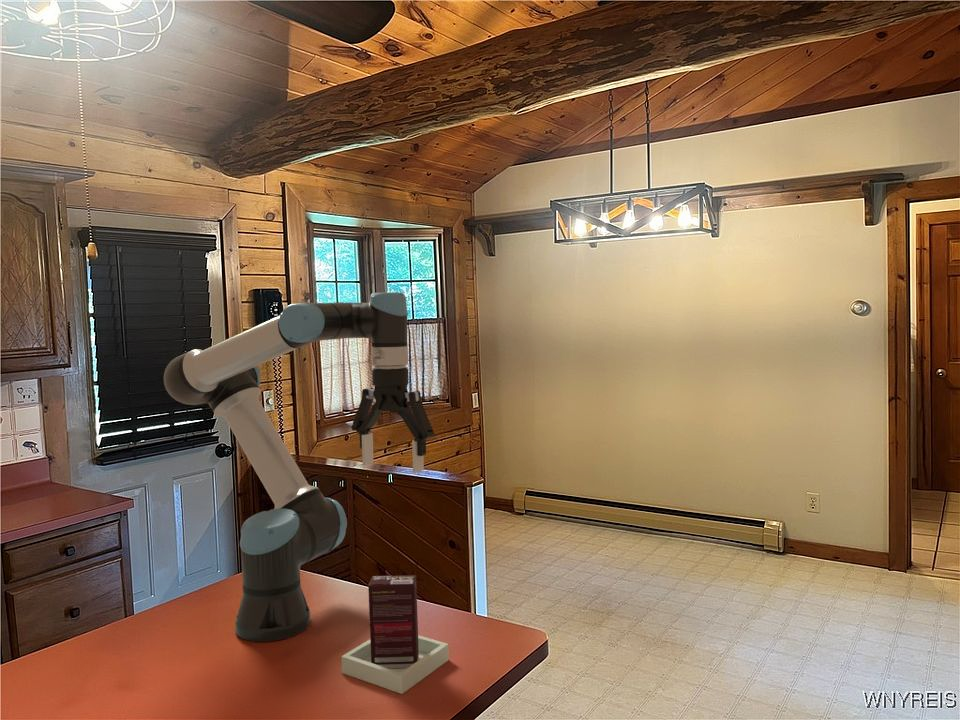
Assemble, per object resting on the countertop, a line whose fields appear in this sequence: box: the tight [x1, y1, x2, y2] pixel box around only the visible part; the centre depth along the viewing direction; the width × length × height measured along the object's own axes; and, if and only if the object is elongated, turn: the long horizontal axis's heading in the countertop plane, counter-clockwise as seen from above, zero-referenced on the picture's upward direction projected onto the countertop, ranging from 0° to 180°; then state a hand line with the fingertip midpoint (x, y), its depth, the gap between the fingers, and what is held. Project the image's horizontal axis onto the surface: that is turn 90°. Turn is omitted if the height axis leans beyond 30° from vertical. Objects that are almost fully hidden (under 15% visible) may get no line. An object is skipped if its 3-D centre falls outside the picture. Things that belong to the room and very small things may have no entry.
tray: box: [340, 634, 450, 695], centre depth 134 cm, size 14×14×3 cm
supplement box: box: [367, 574, 419, 668], centre depth 134 cm, size 9×5×16 cm, turn 91°
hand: (392, 467), depth 152 cm, fingers open, 13 cm apart
